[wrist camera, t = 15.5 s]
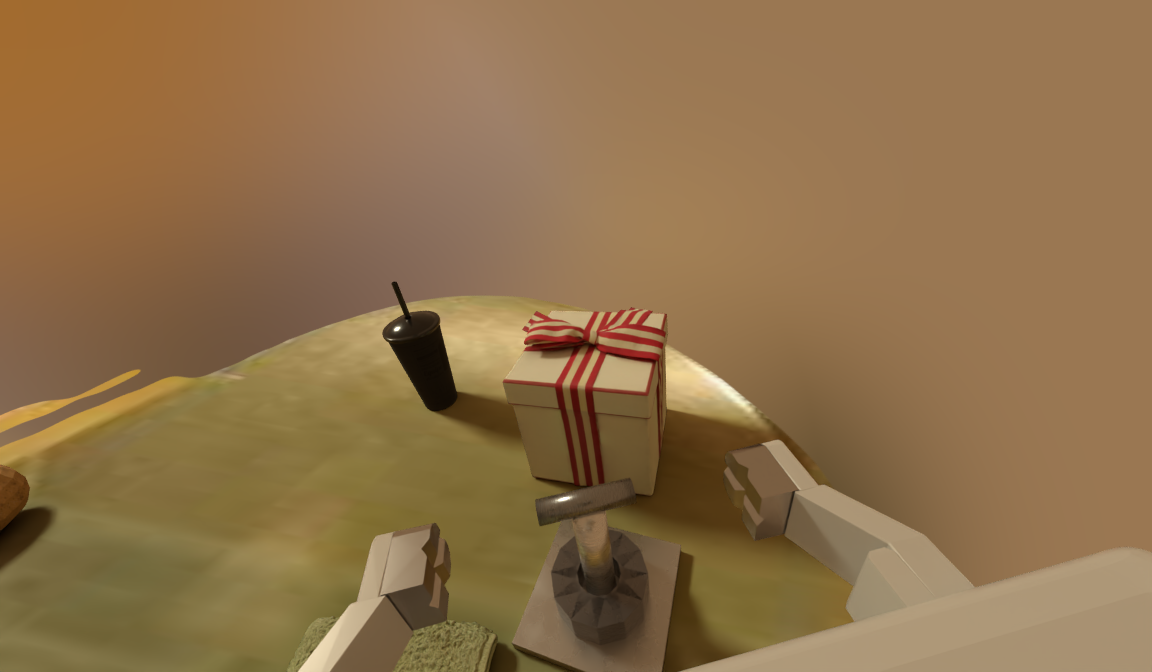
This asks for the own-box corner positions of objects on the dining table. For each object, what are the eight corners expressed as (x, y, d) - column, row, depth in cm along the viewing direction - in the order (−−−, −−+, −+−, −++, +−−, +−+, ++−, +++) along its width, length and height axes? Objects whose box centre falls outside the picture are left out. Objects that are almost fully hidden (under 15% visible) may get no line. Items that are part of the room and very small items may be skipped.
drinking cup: (454, 377, 68) (413, 265, 58) (474, 399, 63) (432, 280, 52) (409, 400, 65) (356, 285, 54) (426, 425, 59) (371, 303, 49)
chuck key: (636, 567, 38) (626, 467, 31) (645, 596, 36) (637, 497, 29) (561, 585, 38) (534, 489, 30) (566, 616, 35) (537, 521, 28)
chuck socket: (657, 704, 31) (656, 683, 28) (514, 648, 35) (503, 626, 33) (680, 550, 40) (681, 526, 38) (565, 521, 44) (559, 497, 42)
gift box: (669, 388, 59) (667, 279, 50) (666, 501, 45) (663, 375, 35) (555, 384, 64) (534, 283, 54) (517, 486, 49) (480, 371, 39)
